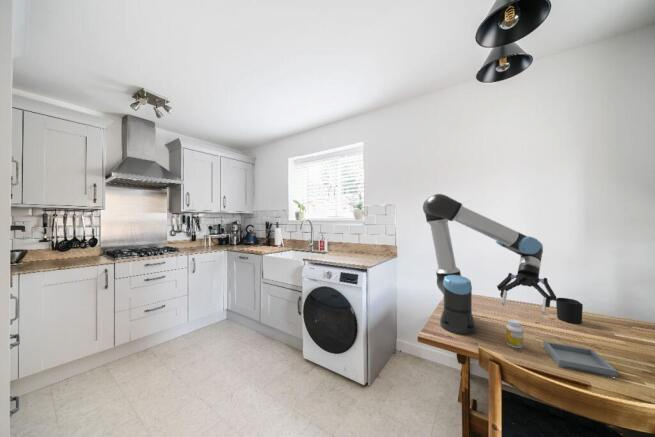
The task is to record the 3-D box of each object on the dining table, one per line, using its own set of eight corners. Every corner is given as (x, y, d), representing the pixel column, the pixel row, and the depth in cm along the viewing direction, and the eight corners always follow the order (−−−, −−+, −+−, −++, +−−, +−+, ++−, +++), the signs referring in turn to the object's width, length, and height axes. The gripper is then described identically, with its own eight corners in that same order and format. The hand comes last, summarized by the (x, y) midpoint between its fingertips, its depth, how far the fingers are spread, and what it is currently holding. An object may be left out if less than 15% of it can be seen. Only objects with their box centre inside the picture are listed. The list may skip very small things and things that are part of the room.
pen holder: (587, 322, 116) (586, 302, 116) (576, 326, 113) (576, 305, 113) (562, 315, 125) (562, 296, 125) (552, 318, 121) (551, 299, 121)
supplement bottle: (506, 340, 100) (506, 317, 100) (523, 344, 96) (522, 320, 96) (505, 345, 95) (505, 321, 95) (523, 350, 92) (523, 325, 92)
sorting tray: (559, 366, 81) (559, 359, 81) (543, 347, 94) (543, 340, 94) (617, 378, 75) (617, 371, 75) (592, 356, 88) (592, 349, 88)
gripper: (567, 277, 103) (563, 322, 93) (498, 269, 122) (490, 304, 112) (565, 267, 100) (562, 312, 90) (495, 260, 119) (486, 296, 109)
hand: (522, 308), depth 101 cm, fingers open, 13 cm apart
